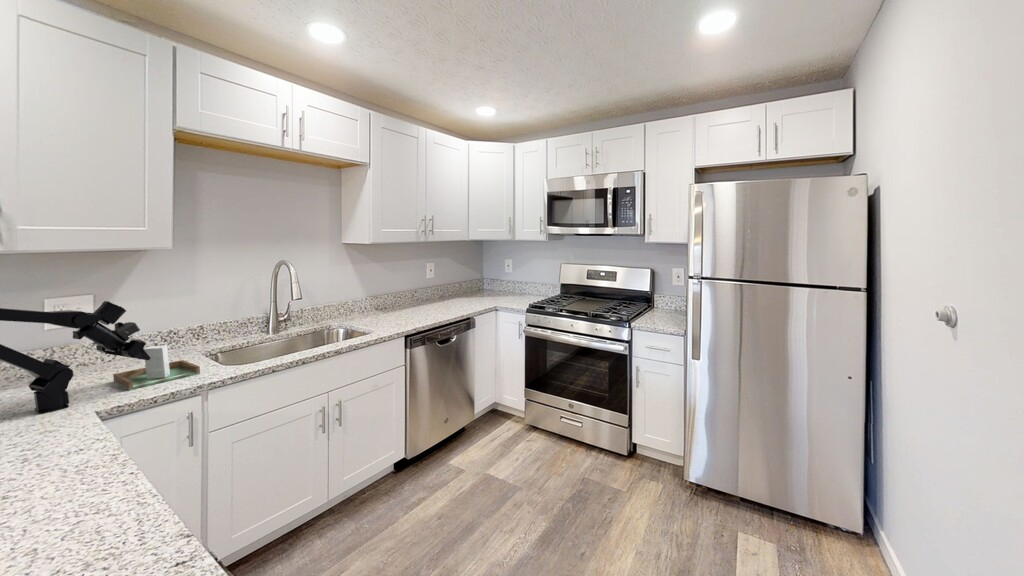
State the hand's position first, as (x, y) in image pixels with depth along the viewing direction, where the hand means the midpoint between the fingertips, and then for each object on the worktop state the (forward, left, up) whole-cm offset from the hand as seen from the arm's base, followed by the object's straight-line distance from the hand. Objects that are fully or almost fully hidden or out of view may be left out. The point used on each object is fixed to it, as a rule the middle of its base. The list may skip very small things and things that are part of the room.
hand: (141, 357), depth 156 cm
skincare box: (+5, +1, -9) cm, 11 cm away
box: (+5, +2, -10) cm, 11 cm away
